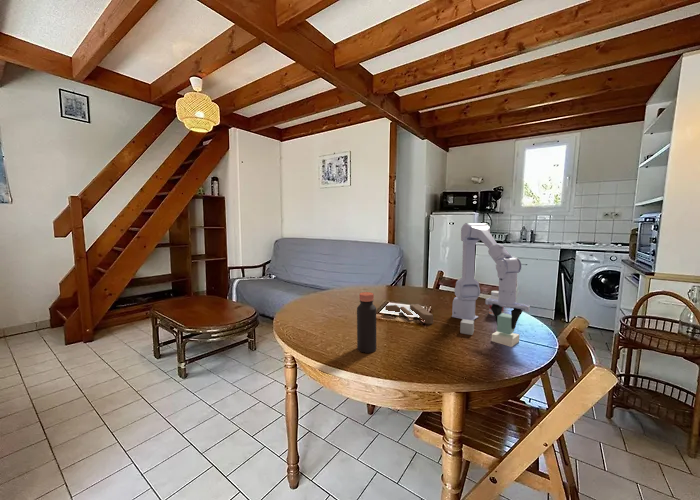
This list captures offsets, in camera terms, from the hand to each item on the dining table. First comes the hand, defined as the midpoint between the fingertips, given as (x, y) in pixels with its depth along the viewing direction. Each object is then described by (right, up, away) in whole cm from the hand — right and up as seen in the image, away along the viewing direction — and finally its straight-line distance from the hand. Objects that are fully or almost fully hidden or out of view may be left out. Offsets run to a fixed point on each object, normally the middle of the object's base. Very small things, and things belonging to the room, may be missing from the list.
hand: (505, 326), depth 109 cm
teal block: (0, -2, 0) cm, 2 cm away
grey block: (-10, -5, +10) cm, 15 cm away
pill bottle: (+12, -3, +31) cm, 34 cm away
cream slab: (0, -6, +1) cm, 6 cm away
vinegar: (-52, -7, -5) cm, 52 cm away
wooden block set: (-31, -4, +27) cm, 41 cm away
